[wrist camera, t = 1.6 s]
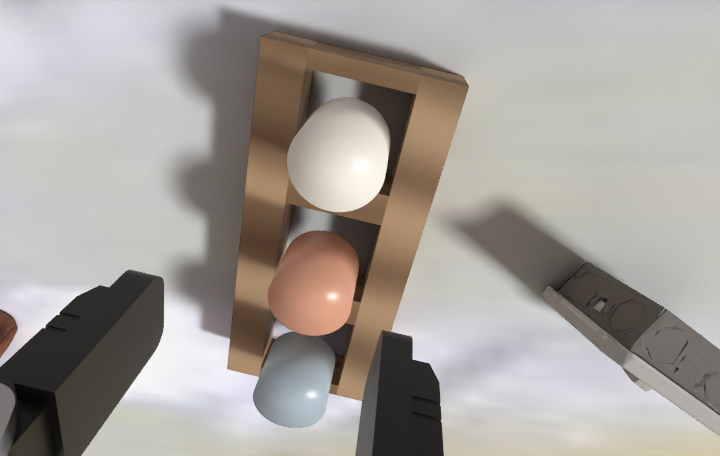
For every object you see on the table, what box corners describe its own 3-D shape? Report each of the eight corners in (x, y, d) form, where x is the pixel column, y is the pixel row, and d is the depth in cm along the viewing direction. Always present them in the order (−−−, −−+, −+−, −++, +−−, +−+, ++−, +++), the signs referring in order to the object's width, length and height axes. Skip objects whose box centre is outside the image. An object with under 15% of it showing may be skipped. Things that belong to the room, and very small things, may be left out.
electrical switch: (534, 289, 33) (588, 382, 24) (590, 236, 31) (670, 316, 22) (627, 355, 34) (707, 463, 26) (684, 309, 33) (791, 408, 24)
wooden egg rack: (275, 31, 26) (260, 36, 24) (463, 76, 26) (468, 86, 24) (240, 342, 38) (227, 369, 35) (371, 373, 38) (368, 402, 35)
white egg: (315, 84, 25) (294, 106, 20) (400, 104, 25) (397, 131, 20) (303, 164, 27) (281, 199, 22) (380, 182, 27) (373, 221, 22)
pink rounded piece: (294, 215, 28) (272, 257, 24) (367, 232, 28) (359, 278, 24) (284, 275, 31) (263, 325, 26) (352, 292, 31) (342, 343, 26)
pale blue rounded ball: (278, 315, 32) (256, 367, 28) (343, 330, 32) (331, 385, 28) (270, 362, 34) (249, 418, 30) (331, 377, 34) (318, 434, 30)
